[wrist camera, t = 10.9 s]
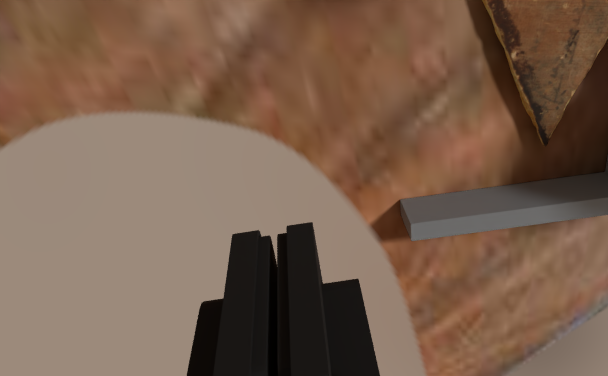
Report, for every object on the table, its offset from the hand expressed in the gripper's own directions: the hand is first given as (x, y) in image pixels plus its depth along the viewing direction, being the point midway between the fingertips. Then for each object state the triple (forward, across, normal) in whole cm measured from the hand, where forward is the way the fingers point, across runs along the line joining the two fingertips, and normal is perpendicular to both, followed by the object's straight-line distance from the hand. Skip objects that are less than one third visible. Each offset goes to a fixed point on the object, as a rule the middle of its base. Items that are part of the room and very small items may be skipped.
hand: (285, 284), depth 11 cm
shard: (+20, -16, +1) cm, 26 cm away
